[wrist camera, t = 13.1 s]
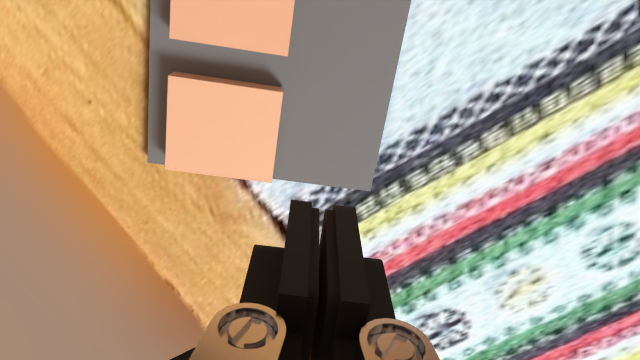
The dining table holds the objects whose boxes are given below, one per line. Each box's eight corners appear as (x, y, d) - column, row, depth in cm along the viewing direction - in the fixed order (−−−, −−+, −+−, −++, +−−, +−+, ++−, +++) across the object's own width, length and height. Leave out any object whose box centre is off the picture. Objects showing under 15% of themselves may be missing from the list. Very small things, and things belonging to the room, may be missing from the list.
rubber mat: (419, -48, 32) (421, -49, 32) (369, 188, 39) (370, 191, 38) (154, -96, 30) (152, -97, 30) (149, 160, 37) (147, 162, 36)
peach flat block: (283, 92, 33) (168, 75, 32) (271, 183, 35) (164, 169, 35) (284, 86, 35) (175, 70, 34) (273, 172, 37) (172, 159, 36)
